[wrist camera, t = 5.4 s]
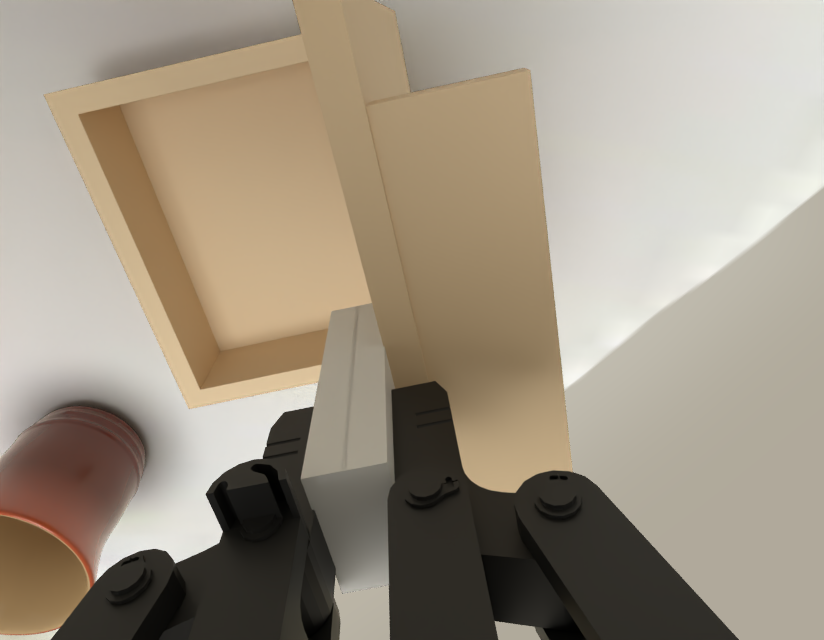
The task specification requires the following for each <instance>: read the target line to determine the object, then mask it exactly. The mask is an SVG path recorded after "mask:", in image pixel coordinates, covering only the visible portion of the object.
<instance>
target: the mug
mask: <svg viewBox="0 0 824 640" xmlns="http://www.w3.org/2000/svg"><path fill="white" fill-rule="evenodd" d="M144 465H145V450H144V446H143V444H142V441H141V440H140V438H139V436H138V435H137V433H136V432H135V431H134V430H133V428H132V427H130V426H129V425H128V424H127V423H126V422H125V421H123V420H122V419H120V418H119V417H117V416H115V415H113V414H111V413H109V412H107V411H104V410H101V409H97V408H93V407H85V406H72V407H65V408H61V409H58V410H55V411H53V412H51V413H49V414H47V415H46V416H44V417H43V418H42V419H41V420H39V421H38V422H36V423H35V424H34V425H32V426H31V427H29V428H27V429H26V430H25V431H23V432H22V433H21V434H20V435H19V436H18V438H17V439H16V440H15V442H14V443H13V444H12V445H11V447H10V448H9V449H8V450H7V451H6V452H5V453H4V454H3V455H2V456H1V458H0V634H3V635H32V634H39V633H45V632H49V631H52V630H56V629H58V628H60V627H61V626H62V625H63V623H64V622H65V621H66V619H67V618H68V617H69V616H70V614H71V613H72V612H73V610H74V609H75V608H76V607H77V605H78V604H79V603H80V601H81V600H82V599H83V597H84V596H85V595H86V594H87V592H88V591H89V590H90V588H91V587H92V586H93V585H94V583H95V582H96V577H97V571H98V565H99V560H100V556H101V553H102V550H103V547H104V545H105V543H106V541H107V539H108V538H109V536H110V534H111V533H112V531H113V530H114V528H115V527H116V525H117V523H118V522H119V520H120V518H121V517H122V515H123V513H124V512H125V510H126V508H127V506H128V504H129V502H130V501H131V499H132V498H133V497H134V495H135V494H136V492H137V489H138V487H139V483H140V480H141V478H142V474H143V469H144Z"/></svg>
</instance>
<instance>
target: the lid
mask: <svg viewBox="0 0 824 640" xmlns="http://www.w3.org/2000/svg"><path fill="white" fill-rule="evenodd" d="M292 1H293V5H294V8H295V12H296V16H297V20H298V24H299V27H300V31H301V35H302V39H303V43H304V46H305V50H306V54H307V58H308V62H309V65H310V69H311V73H312V77H313V81H314V84H315V88H316V92H317V96H318V100H319V103H320V107H321V111H322V115H323V119H324V122H325V126H326V130H327V134H328V138H329V141H330V145H331V149H332V153H333V157H334V160H335V164H336V168H337V172H338V176H339V179H340V183H341V187H342V191H343V195H344V198H345V202H346V206H347V210H348V214H349V217H350V221H351V225H352V229H353V233H354V236H355V240H356V244H357V248H358V252H359V255H360V259H361V263H362V267H363V271H364V274H365V278H366V282H367V286H368V290H369V293H370V297H371V301H372V305H373V309H374V313H375V316H376V320H377V324H378V328H379V332H380V335H381V339H382V343H383V346H385V350H386V354H387V358H388V362H389V366H390V370H391V374H392V378H393V382H394V386H395V389H397V388H402V387H407V386H412V385H417V384H422V383H427V382H432V381H436V382H437V383H438V384H439V385H440V386H441V387H442V388H444V389H445V390H446V391H447V394H448V398H449V403H450V408H451V413H452V418H453V423H454V428H455V433H456V438H457V443H458V448H459V453H460V457H461V462H462V467H463V469H464V472H465V474H466V475H467V477H468V478H469V479H470V480H471V481H472V482H474V483H475V484H477V485H478V486H480V487H483V488H486V489H488V490H492V491H499V492H509V493H516V491H517V490H518V489H519V487H520V486H521V485H522V483H523V482H524V481H525V480H527V479H529V478H531V477H532V476H534V475H536V474H538V473H543V472H547V471H552V470H556V471H570V472H573V471H572V461H571V452H570V442H569V433H568V423H567V414H566V405H565V395H564V386H563V376H562V367H561V357H560V348H559V338H558V329H557V319H556V310H555V301H554V291H553V282H552V272H551V263H550V253H549V244H548V234H547V225H546V216H545V206H544V197H543V187H542V178H541V168H540V159H539V149H538V140H537V130H536V121H535V112H534V102H533V93H532V83H531V74H530V70H528V69H526V68H521V69H516V70H512V71H507V72H503V73H498V74H494V75H489V76H484V77H480V78H475V79H471V80H466V81H462V82H457V83H453V84H448V85H443V86H439V87H434V88H430V89H425V90H421V91H416V92H412V93H411V91H410V86H409V81H408V76H407V71H406V66H405V61H404V56H403V50H402V45H401V40H400V35H399V30H398V25H397V20H396V14H395V11H394V10H392V9H390V8H388V7H386V6H384V5H382V4H380V3H378V2H376V1H374V0H292Z"/></svg>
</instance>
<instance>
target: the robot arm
mask: <svg viewBox="0 0 824 640" xmlns="http://www.w3.org/2000/svg"><path fill="white" fill-rule="evenodd" d="M206 496H207V498H208V500H209V503H210V505H211V507H212V509H213V511H214V513H215V515H216V518H217V520H218V522H219V524H220V526H221V528H222V530H223V534H222V537H221V540H220V543H218V544H217V545H215V546H213V547H211V548H209V549H207V550H205V551H203V552H201V553H198V554H196V555H194V556H192V557H189V558H187V559H185V560H183V561H180V562H178V563H176V564H175V562H174V561H173V559H172V558H171V556H170V555H169V554H168V553H167V552H166V551H162V550H158V549H151V550H144V551H139V552H137V553H135V554H132V555H130V556H128V557H125V558H123V559H122V560H120V561H119V562H118V563H116V564H115V565H113V566H112V567H110V568H109V569H108V570H107V571H106V572H105V573H104V574H103V575H102V576H101V577H100V578H99V579H98V580H97V581H96V582H95V583H94V585H93V586H92V587H91V588H90V590H89V591H88V592H87V594H86V595H85V596H84V597H83V599H82V600H81V601H80V603H79V604H78V605H77V607H76V608H75V609H74V610H73V612H72V613H71V614H70V616H69V617H68V618H67V619H66V621H65V622H64V623H63V625H62V626H61V627H60V629H59V630H58V631H57V632H56V634H55V635H54V636H53V638H52V639H51V640H339V634H340V616H339V610H338V607H337V605H336V602H335V599H334V585H335V575H336V578H337V580H338V583H339V586H340V589H341V591H342V594H343V593H348V592H354V591H360V590H365V589H370V588H376V587H382V586H387V585H389V610H390V640H498V636H497V631H496V627H495V622H494V621H499V622H506V623H513V624H520V625H528V626H534V627H535V628H536V632H537V633H538V635H539V637H540V639H541V640H739V639H738V638H737V637H736V636H735V635H734V634H733V633H732V632H731V631H730V630H729V629H728V628H727V626H726V625H725V624H724V623H723V622H722V621H721V620H720V619H719V618H718V617H717V616H716V614H715V613H714V612H713V611H712V610H711V609H710V608H709V607H708V606H707V605H706V604H705V603H704V601H703V600H702V599H701V598H700V597H699V596H698V595H697V594H696V593H695V592H694V590H693V589H692V588H691V587H690V586H689V585H688V584H687V583H686V582H685V581H684V580H683V579H682V577H681V576H680V575H679V574H678V573H677V572H676V571H675V570H674V569H673V568H672V567H671V566H670V564H669V563H668V562H667V561H666V560H665V559H664V558H663V557H662V556H661V555H660V554H659V553H658V551H657V550H656V549H655V548H654V547H653V546H652V545H651V544H650V543H649V542H648V540H646V538H645V537H644V536H643V535H642V534H641V533H640V532H639V531H638V530H637V529H636V528H635V526H634V525H633V524H632V523H631V522H630V521H629V520H628V519H627V518H626V517H625V515H624V514H623V513H622V512H621V511H620V510H619V509H618V508H617V507H616V506H615V505H614V504H613V503H612V501H611V500H610V499H609V498H608V497H607V496H606V495H605V494H604V493H603V492H602V490H601V489H600V488H599V487H598V486H597V485H596V484H594V483H593V482H592V481H590V480H589V479H588V478H586V477H585V476H582V475H579V474H576V473H573V472H570V471H556V470H552V471H547V472H543V473H538V474H536V475H534V476H532V477H531V478H529V479H527V480H525V481H524V482H523V483H522V485H521V486H520V487H519V489H518V490H517V491H516V493H509V492H499V491H492V490H488V489H486V488H483V487H480V486H478V485H477V484H475V483H474V482H472V481H471V480H470V479H469V478H468V477H467V475H466V474H465V472H464V469H463V467H462V462H461V457H460V453H459V448H458V443H457V438H456V433H455V428H454V423H453V418H452V413H451V408H450V403H449V398H448V394H447V391H446V390H445V389H444V388H442V387H441V386H440V385H439V384H438V383H437V382H436V381H432V382H427V383H422V384H417V385H412V386H407V387H402V388H397V389H395V386H394V382H393V378H392V374H391V370H390V366H389V362H388V358H387V354H386V350H385V346H383V343H382V339H381V335H380V332H379V328H378V324H377V320H376V316H375V313H374V309H373V305H372V303H370V304H365V305H360V306H355V307H350V308H345V309H340V310H335V311H331V316H330V322H329V327H328V332H327V338H326V343H325V349H324V354H323V360H322V365H321V371H320V376H319V381H318V387H317V392H316V398H315V403H314V407H309V408H304V409H299V410H294V411H289V412H284V413H283V414H282V416H281V417H280V418H279V419H278V420H277V422H276V423H275V424H274V425H273V426H272V428H271V430H270V434H269V437H268V440H267V447H265V451H264V454H263V459H256V460H251V461H248V462H245V463H242V464H239V465H237V466H235V467H233V468H232V469H230V470H228V471H226V472H225V473H223V474H222V475H221V476H220V477H219V478H218V479H217V480H216V481H214V482H213V483H212V485H211V487H210V488H209V490H208V491H207V493H206Z"/></svg>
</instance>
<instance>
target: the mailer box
mask: <svg viewBox="0 0 824 640" xmlns="http://www.w3.org/2000/svg"><path fill="white" fill-rule="evenodd" d="M44 97H45V99H46V101H47V103H48V105H49V108H50V110H51V112H52V114H53V116H54V118H55V121H56V123H57V125H58V127H59V129H60V131H61V134H62V136H63V138H64V140H65V142H66V144H67V146H68V149H69V151H70V153H71V155H72V157H73V159H74V162H75V164H76V166H77V168H78V170H79V172H80V175H81V177H82V179H83V181H84V183H85V185H86V188H87V190H88V192H89V194H90V196H91V198H92V201H93V203H94V205H95V207H96V209H97V211H98V213H99V216H100V218H101V220H102V222H103V224H104V226H105V229H106V231H107V233H108V235H109V237H110V239H111V242H112V244H113V246H114V248H115V250H116V252H117V255H118V257H119V259H120V261H121V263H122V265H123V268H124V270H125V272H126V274H127V276H128V278H129V280H130V283H131V285H132V287H133V289H134V291H135V293H136V296H137V298H138V300H139V302H140V304H141V306H142V309H143V311H144V313H145V315H146V317H147V319H148V322H149V324H150V326H151V328H152V330H153V332H154V335H155V337H156V339H157V341H158V343H159V345H160V347H161V350H162V352H163V354H164V356H165V358H166V360H167V363H168V365H169V367H170V369H171V371H172V373H173V376H174V378H175V380H176V382H177V384H178V386H179V389H180V391H181V393H182V395H183V397H184V399H185V402H186V404H187V406H188V408H189V409H192V408H197V407H201V406H206V405H211V404H216V403H221V402H226V401H230V400H235V399H240V398H245V397H250V396H255V395H259V394H264V393H269V392H274V391H279V390H284V389H288V388H293V387H298V386H303V385H308V384H313V383H317V382H318V381H319V376H320V371H321V365H322V360H323V354H324V349H325V343H326V338H327V332H328V327H329V322H330V316H331V311H335V310H340V309H345V308H350V307H355V306H360V305H365V304H370V303H372V301H371V297H370V293H369V290H368V286H367V282H366V278H365V274H364V271H363V267H362V263H361V259H360V255H359V252H358V248H357V244H356V240H355V236H354V233H353V229H352V225H351V221H350V217H349V214H348V210H347V206H346V202H345V198H344V195H343V191H342V187H341V183H340V179H339V176H338V172H337V168H336V164H335V160H334V157H333V153H332V149H331V145H330V141H329V138H328V134H327V130H326V126H325V122H324V119H323V115H322V111H321V107H320V103H319V100H318V96H317V92H316V88H315V84H314V81H313V77H312V73H311V69H310V65H309V62H308V58H307V54H306V50H305V46H304V43H303V39H302V35H301V34H300V35H296V36H291V37H287V38H283V39H279V40H274V41H270V42H266V43H262V44H257V45H253V46H249V47H244V48H240V49H236V50H232V51H227V52H223V53H219V54H215V55H210V56H206V57H202V58H198V59H193V60H189V61H185V62H181V63H176V64H172V65H168V66H163V67H159V68H155V69H151V70H146V71H142V72H138V73H134V74H129V75H125V76H121V77H117V78H112V79H108V80H104V81H99V82H95V83H91V84H87V85H82V86H78V87H74V88H70V89H65V90H61V91H57V92H53V93H48V94H44Z"/></svg>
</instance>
